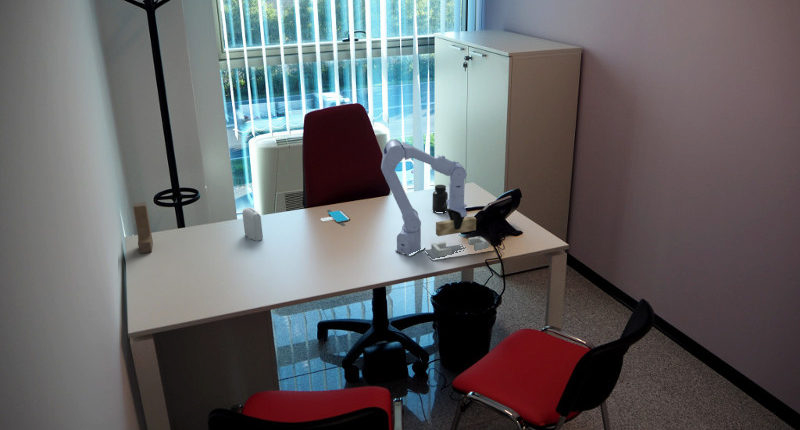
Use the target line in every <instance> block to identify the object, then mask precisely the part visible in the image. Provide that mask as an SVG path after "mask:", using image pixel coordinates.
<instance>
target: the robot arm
mask: <svg viewBox="0 0 800 430" xmlns="http://www.w3.org/2000/svg"><path fill="white" fill-rule="evenodd" d="M382 150H383V152H382V159H381V164H380V170H381V172H382V175H383V176H384V178H385V182H386V183H387V185H388V187H389V189H390V191H391V194H392V195H393V198H394V200H395V202H396V204H397V206H398V209H399V211H400V213H401V218H402V221H403V225H402V227H401V230H400V232H399V233H398V234H397V236H396V249H395V250H394V251H395V252H396V251H398V252H397V253H399V252H401V253H400V254H402V253H404V254H403V255H405V254H407V255H406V256H408V255H409V254H411V253H413V252H416V251H418V250H420V249H421V246H422V245H421V244H422V242H421V240H422V233H421V231H422V229H421V227H422V221H421V219H420V218H419V213H418V211H417V210H416V209H414V207H413V206H412V204H411V203H410V202H411V201H410V200H409V197H408V196H407V193H406V191H405V189H404V187H403V185H402V182H401V180H400V178H399V176H398V174H397V172H396V168H397V166H398V165H399V164H400V163H401V162H402V161H403V159H404V160H405V161H406V160H409V159H414V160H417V161H420V162H421V163H425V164H426V165H427V164H428V165H430V167H431V169H432V170H433V171H435V172H437V173H440V174H442V175H444V176H447V177H449V186H448V187H449V188H448V189H449V190H448V191H449V192H448V193H449V194H448V200H447V202H446V204H447V205H448V208H447V212H446V213H447V214H448V216H449V220H454V228H455V230H457V229H460V228H461V225H462V222H463V219H464V218H466V217H468V212H467V211H468V210H466V207H467V204H466V203H465V187H466V186H465V185H466V184H465V180H466V179H467V178H466V177H467V172H466V169H465V168H464V166H463V165H462V164H461V163H460V162H458V161H456V160H453V161H452V160H450V159H448V158H446V156H445V155H443V154H442V155H439V154H438V155H435V156H433V155H431V154H429V153H427V152H425V151H423V150H421V149H419V148H417V147H415V146H412V145H410V144H409V143H407V142H404V141H400V140H398V139H395V138H394V139H391V140H390V139H389V140H388V141H387V143H386V144H385V146H384V148H383V149H382Z"/></svg>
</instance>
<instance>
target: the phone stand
mask: <svg viewBox="0 0 800 430" xmlns="http://www.w3.org/2000/svg"><path fill="white" fill-rule="evenodd" d="M326 211H327V213H328V215H330V216H327V217H321V218H320V221H321V222H331V221H336V222H337V223H338V224H340V225H341V226H343V227H344V226H346V223H345V222H347V221H350V220H351V219H350V218H351V217H350V216H348V215H347V214H346V213H345V212H344V211H343V210H342V209H341V210H334V211H332V210H331V209H327V210H326Z"/></svg>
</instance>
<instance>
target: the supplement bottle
mask: <svg viewBox="0 0 800 430" xmlns="http://www.w3.org/2000/svg"><path fill="white" fill-rule="evenodd" d="M446 188H447V186H446V185H444V184H436V185H434V191H433V192H432V203H431V204H432V207H431V208H432V210H433V211H436V212H445V211H447V209H448V208H449V207H448V205H447V204H446V202H447V200H448V199H449V194H448V193H449V192H448V191H447V189H446ZM433 211H432V212H433Z"/></svg>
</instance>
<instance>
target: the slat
mask: <svg viewBox="0 0 800 430" xmlns="http://www.w3.org/2000/svg"><path fill="white" fill-rule="evenodd" d="M476 230H477V218H476V217H475V216H466V217H464V219H463V222H462V225H461V228H460V229H457V230H455V228H454V220H450V219H447V220H440V221H435V235H436V236H437V237H442V236H443V237H444V236H447V235H455V234H460V233H462V234H463V233H466V232H467V233H468V232H472V231H476Z"/></svg>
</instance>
